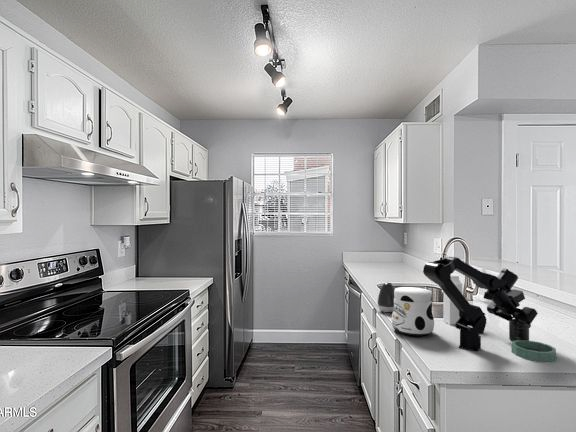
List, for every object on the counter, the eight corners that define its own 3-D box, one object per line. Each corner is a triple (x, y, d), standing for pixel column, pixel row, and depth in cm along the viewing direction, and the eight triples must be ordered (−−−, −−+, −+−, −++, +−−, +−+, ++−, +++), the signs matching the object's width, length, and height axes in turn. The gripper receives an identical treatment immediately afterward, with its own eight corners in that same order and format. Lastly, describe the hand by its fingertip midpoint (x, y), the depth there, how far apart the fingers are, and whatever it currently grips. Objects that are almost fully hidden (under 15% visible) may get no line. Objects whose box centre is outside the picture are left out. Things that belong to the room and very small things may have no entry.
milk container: (384, 332, 157) (384, 290, 157) (402, 324, 170) (402, 285, 170) (424, 341, 145) (424, 296, 145) (440, 332, 158) (440, 290, 158)
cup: (510, 355, 131) (510, 347, 131) (513, 345, 142) (513, 337, 142) (556, 364, 123) (556, 355, 123) (555, 353, 134) (555, 344, 134)
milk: (462, 324, 169) (462, 277, 169) (449, 325, 169) (450, 277, 169) (454, 321, 176) (455, 275, 176) (442, 321, 175) (443, 275, 175)
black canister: (400, 310, 194) (400, 282, 194) (394, 315, 185) (394, 285, 185) (381, 308, 199) (381, 280, 200) (374, 312, 191) (375, 282, 191)
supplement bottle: (510, 337, 152) (510, 308, 152) (530, 341, 147) (530, 311, 147) (507, 341, 146) (507, 311, 146) (528, 345, 142) (528, 314, 142)
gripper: (534, 287, 137) (555, 315, 140) (492, 279, 155) (511, 304, 158) (518, 310, 134) (540, 337, 138) (477, 299, 152) (497, 324, 155)
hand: (521, 324), depth 147 cm, fingers closed on supplement bottle, 7 cm apart
